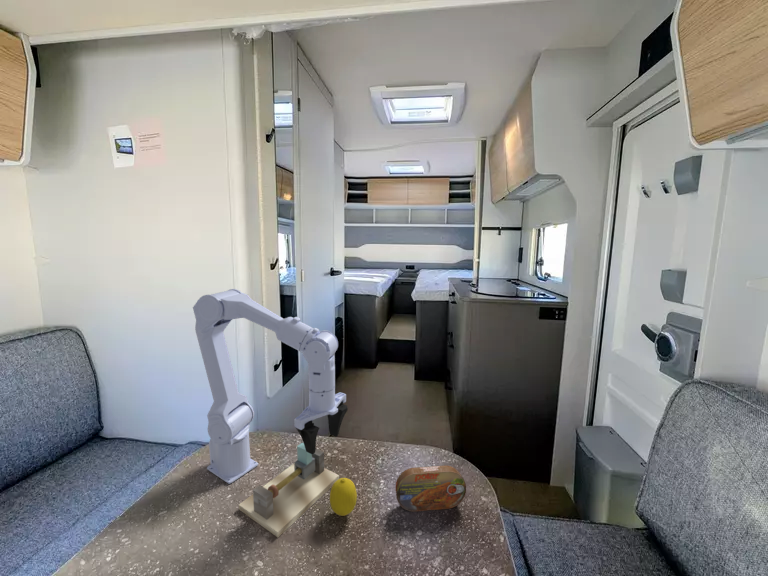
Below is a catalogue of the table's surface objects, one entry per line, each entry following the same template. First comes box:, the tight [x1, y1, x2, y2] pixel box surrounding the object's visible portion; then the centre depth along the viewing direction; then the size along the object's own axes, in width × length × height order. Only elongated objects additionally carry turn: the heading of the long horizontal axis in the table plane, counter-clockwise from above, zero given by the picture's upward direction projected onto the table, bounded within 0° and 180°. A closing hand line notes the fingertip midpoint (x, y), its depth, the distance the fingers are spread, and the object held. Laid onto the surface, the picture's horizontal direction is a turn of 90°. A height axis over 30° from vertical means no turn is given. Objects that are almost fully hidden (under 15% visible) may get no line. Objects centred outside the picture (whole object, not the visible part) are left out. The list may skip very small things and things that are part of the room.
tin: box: [395, 465, 467, 513], centre depth 70 cm, size 15×3×8 cm, turn 96°
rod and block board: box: [238, 448, 340, 538], centre depth 72 cm, size 18×12×6 cm, turn 148°
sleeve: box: [293, 442, 315, 479], centre depth 75 cm, size 4×3×6 cm
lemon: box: [329, 477, 358, 517], centre depth 67 cm, size 6×6×8 cm
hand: (322, 443), depth 75 cm, fingers open, 7 cm apart
